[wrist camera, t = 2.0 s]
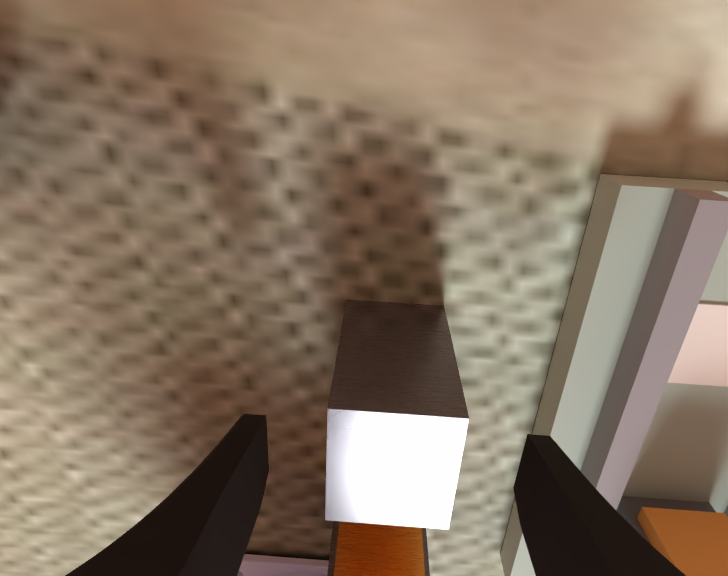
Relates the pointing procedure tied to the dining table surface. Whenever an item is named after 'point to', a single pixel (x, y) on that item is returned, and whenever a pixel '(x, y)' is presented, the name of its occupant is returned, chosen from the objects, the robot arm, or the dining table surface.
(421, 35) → the dining table surface
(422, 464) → the brushed grey cube
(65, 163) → the dining table surface
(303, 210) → the dining table surface
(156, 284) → the dining table surface
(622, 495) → the rail
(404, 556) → the block
